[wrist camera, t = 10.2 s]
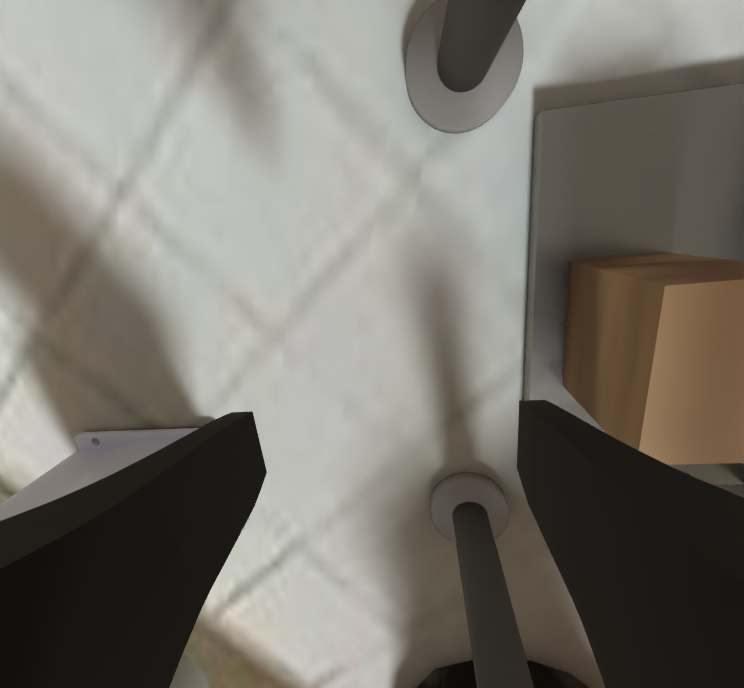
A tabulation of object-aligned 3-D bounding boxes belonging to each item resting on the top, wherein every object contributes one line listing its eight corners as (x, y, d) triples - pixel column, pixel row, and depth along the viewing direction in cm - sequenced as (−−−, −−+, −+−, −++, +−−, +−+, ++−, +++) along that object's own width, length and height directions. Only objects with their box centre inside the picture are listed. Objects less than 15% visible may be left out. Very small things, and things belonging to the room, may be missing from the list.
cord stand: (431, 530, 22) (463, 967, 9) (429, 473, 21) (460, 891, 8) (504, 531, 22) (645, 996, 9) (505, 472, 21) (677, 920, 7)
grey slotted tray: (520, 474, 20) (553, 550, 16) (534, 117, 15) (593, 69, 10) (753, 471, 19) (866, 553, 14) (870, 72, 13) (1124, -9, 9)
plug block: (562, 385, 17) (636, 465, 12) (571, 261, 16) (665, 285, 10) (651, 381, 17) (772, 462, 11) (672, 252, 15) (830, 272, 9)
